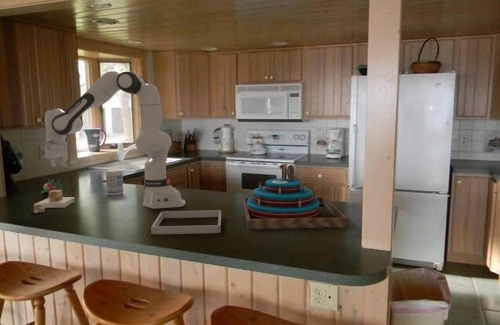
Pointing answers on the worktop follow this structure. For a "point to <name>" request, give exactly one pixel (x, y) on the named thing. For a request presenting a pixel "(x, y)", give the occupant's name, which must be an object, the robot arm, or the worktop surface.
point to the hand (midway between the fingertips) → (57, 165)
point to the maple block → (39, 207)
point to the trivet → (58, 202)
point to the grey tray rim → (186, 229)
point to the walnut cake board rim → (298, 219)
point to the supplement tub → (114, 182)
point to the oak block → (55, 195)
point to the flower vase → (50, 186)
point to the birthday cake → (283, 198)
